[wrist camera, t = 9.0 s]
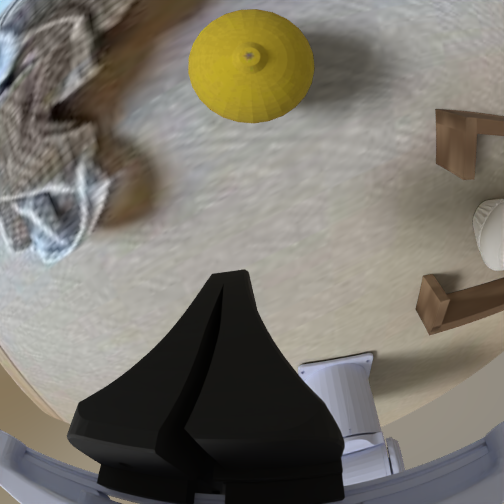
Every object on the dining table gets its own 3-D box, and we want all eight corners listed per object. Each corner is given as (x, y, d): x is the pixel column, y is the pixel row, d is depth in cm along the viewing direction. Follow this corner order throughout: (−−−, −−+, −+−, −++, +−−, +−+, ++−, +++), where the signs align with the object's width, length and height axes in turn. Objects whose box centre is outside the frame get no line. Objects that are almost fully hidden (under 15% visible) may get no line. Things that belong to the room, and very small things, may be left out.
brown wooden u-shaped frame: (509, 282, 23) (525, 301, 20) (415, 309, 24) (429, 335, 21) (540, 123, 13) (565, 134, 10) (435, 108, 15) (465, 116, 12)
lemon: (295, 27, 13) (324, -15, 6) (303, 112, 16) (338, 131, 9) (200, 36, 13) (158, 1, 6) (210, 120, 16) (177, 145, 9)
